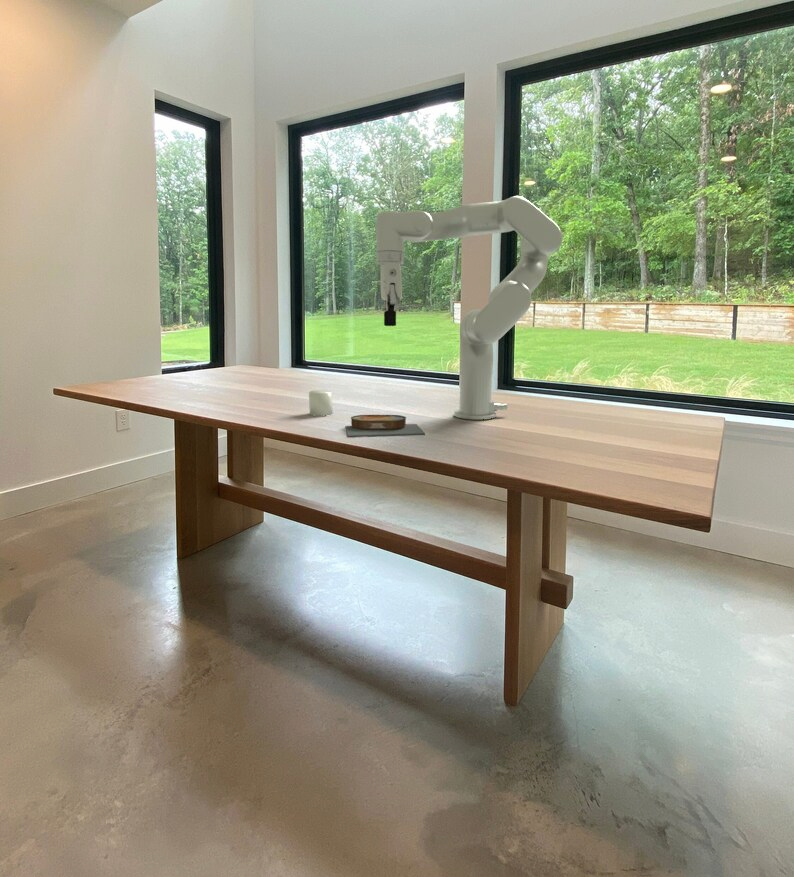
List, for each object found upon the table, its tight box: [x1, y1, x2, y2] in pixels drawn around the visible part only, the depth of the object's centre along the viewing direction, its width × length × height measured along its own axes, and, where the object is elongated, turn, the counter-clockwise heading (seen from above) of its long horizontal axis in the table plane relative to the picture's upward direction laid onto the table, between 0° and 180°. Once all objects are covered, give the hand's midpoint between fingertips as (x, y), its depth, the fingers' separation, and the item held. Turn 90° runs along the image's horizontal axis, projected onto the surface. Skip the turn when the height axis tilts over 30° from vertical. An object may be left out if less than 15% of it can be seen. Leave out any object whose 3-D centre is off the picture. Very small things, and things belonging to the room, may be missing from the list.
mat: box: [344, 423, 426, 438], centre depth 158 cm, size 20×12×1 cm, turn 99°
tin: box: [350, 414, 407, 429], centre depth 161 cm, size 15×3×8 cm
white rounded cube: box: [308, 389, 334, 417], centre depth 181 cm, size 7×7×7 cm
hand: (390, 325), depth 169 cm, fingers closed
